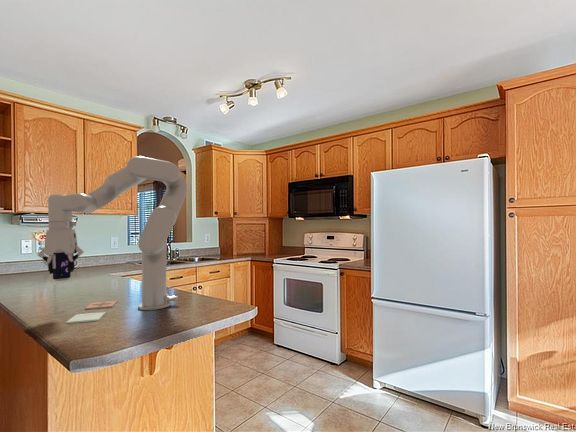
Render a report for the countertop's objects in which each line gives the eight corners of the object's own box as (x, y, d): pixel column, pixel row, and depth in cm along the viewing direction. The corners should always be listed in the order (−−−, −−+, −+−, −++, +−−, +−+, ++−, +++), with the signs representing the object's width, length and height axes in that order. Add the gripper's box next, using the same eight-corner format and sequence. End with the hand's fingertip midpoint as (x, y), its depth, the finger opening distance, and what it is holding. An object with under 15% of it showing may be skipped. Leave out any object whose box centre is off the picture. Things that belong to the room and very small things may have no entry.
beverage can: (61, 281, 122) (60, 249, 123) (49, 281, 124) (48, 250, 124) (74, 278, 128) (73, 248, 128) (62, 278, 129) (61, 248, 129)
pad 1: (105, 313, 125) (105, 311, 125) (98, 320, 116) (98, 318, 116) (76, 316, 122) (76, 314, 122) (66, 323, 113) (66, 321, 113)
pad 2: (117, 302, 144) (117, 300, 144) (112, 307, 135) (112, 305, 135) (92, 304, 142) (92, 302, 142) (84, 309, 132) (84, 307, 132)
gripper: (88, 225, 132) (89, 269, 132) (39, 227, 127) (40, 273, 127) (82, 225, 125) (83, 272, 125) (29, 227, 120) (30, 275, 120)
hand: (61, 272), depth 126 cm, fingers closed on beverage can, 5 cm apart
